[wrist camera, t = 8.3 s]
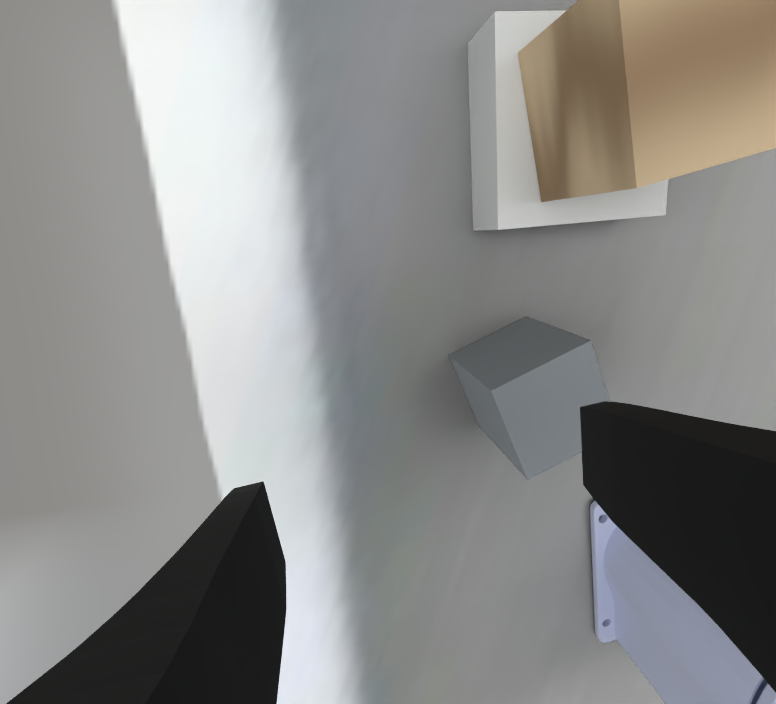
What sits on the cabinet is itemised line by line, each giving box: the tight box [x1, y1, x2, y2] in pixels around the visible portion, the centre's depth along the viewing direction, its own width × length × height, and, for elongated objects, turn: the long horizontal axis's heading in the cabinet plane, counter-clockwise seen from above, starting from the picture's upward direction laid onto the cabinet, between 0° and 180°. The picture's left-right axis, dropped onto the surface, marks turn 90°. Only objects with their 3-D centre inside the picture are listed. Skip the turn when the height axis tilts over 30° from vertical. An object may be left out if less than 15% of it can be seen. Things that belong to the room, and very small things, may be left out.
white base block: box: [468, 11, 668, 231], centre depth 18 cm, size 7×7×3 cm
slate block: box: [449, 317, 610, 480], centre depth 19 cm, size 4×4×5 cm
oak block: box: [518, 0, 776, 202], centre depth 14 cm, size 5×5×5 cm
